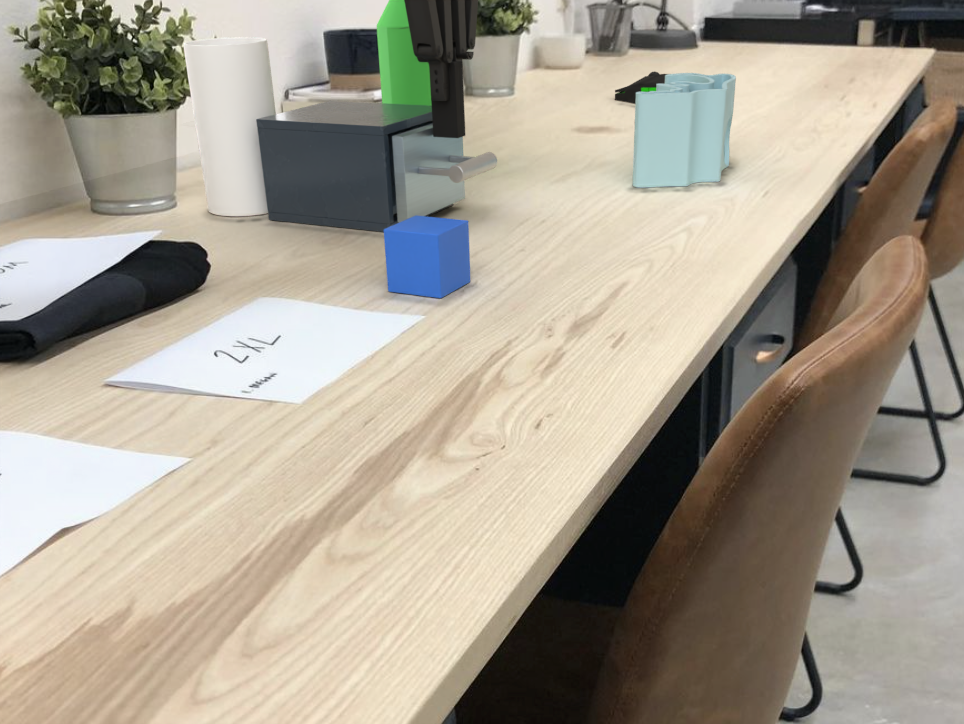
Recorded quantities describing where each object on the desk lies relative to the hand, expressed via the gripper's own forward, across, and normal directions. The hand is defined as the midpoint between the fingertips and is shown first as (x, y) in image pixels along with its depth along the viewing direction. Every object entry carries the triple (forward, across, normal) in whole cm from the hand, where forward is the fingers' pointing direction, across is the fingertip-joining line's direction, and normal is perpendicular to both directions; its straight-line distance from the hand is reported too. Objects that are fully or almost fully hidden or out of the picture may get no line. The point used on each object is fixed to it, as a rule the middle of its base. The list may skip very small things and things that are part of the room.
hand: (449, 135), depth 106 cm
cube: (+8, -21, -9) cm, 24 cm away
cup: (+8, -3, +24) cm, 25 cm away
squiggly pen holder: (+8, +30, -13) cm, 34 cm away
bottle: (+8, +22, +17) cm, 29 cm away
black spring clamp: (+9, +81, +8) cm, 82 cm away
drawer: (+7, 0, +6) cm, 9 cm away
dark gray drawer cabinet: (+8, 0, +11) cm, 13 cm away
